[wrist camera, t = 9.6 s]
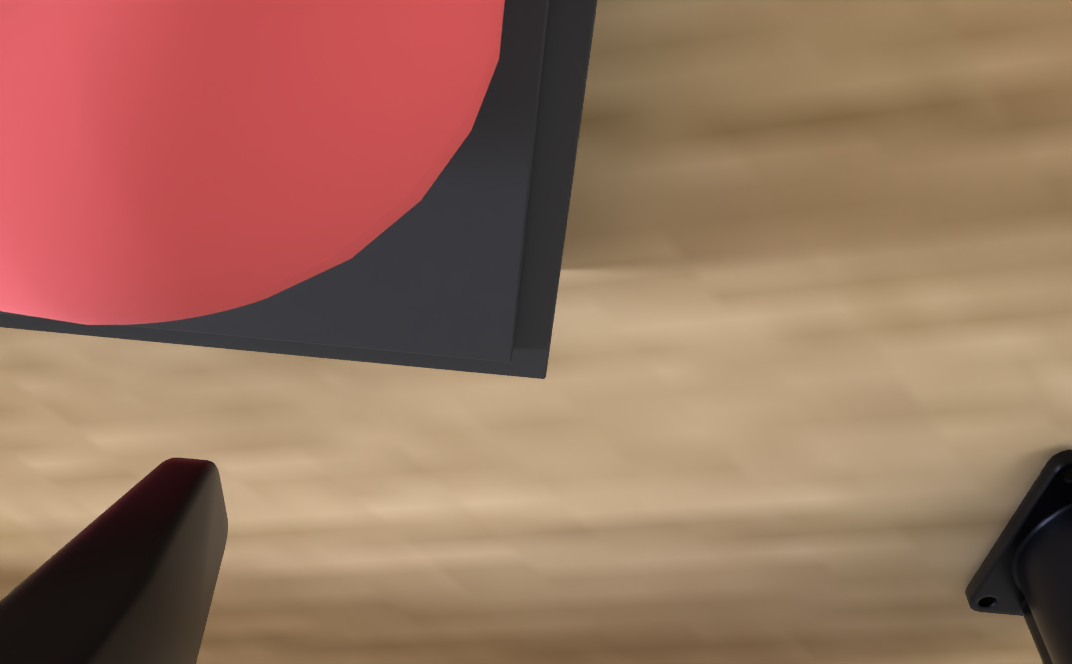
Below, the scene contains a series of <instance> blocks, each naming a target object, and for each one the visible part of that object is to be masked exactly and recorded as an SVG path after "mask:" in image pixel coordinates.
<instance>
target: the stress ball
mask: <svg viewBox="0 0 1072 664" xmlns="http://www.w3.org/2000/svg"><path fill="white" fill-rule="evenodd" d="M504 3H505V0H0V311H3V312H9V313H15V314H22V315H28V316H34V317H41V318H47V319H53V320H60V321H66V322H72V323H79V324H85V325H129V324H147V323H158V322H167V321H175V320H182V319H188V318H194V317H200V316H204V315H209V314H214V313H218V312H222V311H226V310H230V309H234V308H238V307H241V306H245V305H248V304H251V303H255V302H257V301H260V300H263V299H266V298H268V297H270V296H273V295H275V294H277V293H279V292H281V291H283V290H285V289H288V288H290V287H292V286H294V285H296V284H298V283H300V282H302V281H305V280H307V279H309V278H311V277H313V276H315V275H317V274H320V273H322V272H324V271H326V270H328V269H330V268H332V267H335V266H337V265H339V264H341V263H343V262H345V261H347V260H349V259H351V258H352V257H354V256H355V255H356V254H357V253H358V252H360V251H361V250H362V249H363V248H364V247H366V246H367V245H368V244H369V243H370V242H372V241H373V240H374V239H375V238H376V237H378V236H379V235H380V234H381V233H382V232H384V231H385V230H386V229H387V228H388V227H390V226H391V225H392V224H393V223H394V222H396V221H397V220H398V219H399V218H400V217H402V216H403V215H404V214H405V213H406V212H408V211H409V210H410V209H411V208H412V207H414V206H415V205H416V204H417V203H418V202H420V201H421V200H422V198H423V197H424V195H425V194H426V193H427V191H428V190H429V189H430V187H431V186H432V184H433V183H434V182H435V180H436V179H437V177H438V176H439V175H440V173H441V172H442V170H443V169H444V168H445V166H446V165H447V164H448V162H449V161H450V159H451V158H452V157H453V155H454V154H455V152H456V151H457V150H458V148H459V147H460V146H461V144H462V143H463V141H464V140H465V139H466V137H467V136H468V134H469V133H470V132H471V130H472V127H473V125H474V122H475V120H476V117H477V114H478V112H479V109H480V107H481V104H482V102H483V99H484V96H485V94H486V91H487V89H488V86H489V83H490V81H491V78H492V76H493V73H494V71H495V68H496V65H497V63H498V60H499V54H500V44H501V33H502V23H503V13H504Z"/></svg>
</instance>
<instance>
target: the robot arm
mask: <svg viewBox="0 0 1072 664" xmlns="http://www.w3.org/2000/svg"><path fill="white" fill-rule="evenodd" d="M227 533H228V519H227V513H226V508H225V502H224V497H223V492H222V486H221V481H220V476H219V471H218V469H217V467H216V465H215V464H214V463H213V462H211V461H208V460H198V459H187V458H171V459H168V460H166V461H164V462H162V463H161V464H160V465H159V466H157V467H156V468H155V469H154V470H153V471H152V472H150V473H149V474H148V475H147V476H146V477H145V478H143V479H142V480H141V481H140V482H139V483H138V484H136V485H135V486H134V487H133V488H132V489H131V490H129V491H128V492H127V493H126V494H125V495H124V496H122V497H121V498H120V499H119V500H118V501H117V502H115V503H114V504H113V505H112V506H111V507H110V508H108V509H107V510H106V511H105V512H104V513H103V514H101V515H100V516H99V517H98V518H97V519H95V520H94V521H93V522H92V523H91V524H90V525H88V526H87V527H86V528H85V529H84V530H83V531H81V532H80V533H79V534H78V535H77V536H76V537H74V538H73V539H72V540H71V541H70V542H69V543H67V544H66V545H65V546H64V547H63V548H62V549H60V550H59V551H58V552H57V553H56V554H55V555H53V556H52V557H51V558H50V559H49V560H48V561H46V562H45V563H44V564H43V565H42V566H41V567H39V568H38V569H37V570H36V571H35V572H34V573H32V574H31V575H30V576H29V577H28V578H26V579H25V580H24V581H23V582H22V583H21V584H19V585H18V586H17V587H16V588H15V589H14V590H12V591H11V592H10V593H9V594H8V595H7V596H5V597H4V598H3V599H2V600H1V601H0V664H196V662H197V658H198V654H199V650H200V646H201V642H202V638H203V634H204V630H205V626H206V622H207V618H208V614H209V610H210V606H211V602H212V598H213V594H214V590H215V586H216V582H217V578H218V574H219V570H220V566H221V562H222V558H223V554H224V550H225V545H226V540H227ZM965 594H966V597H967V600H968V602H969V605H970V607H971V608H972V609H973V610H975V611H979V612H987V613H998V614H1010V615H1021V616H1024V618H1025V620H1026V623H1027V625H1028V628H1029V630H1030V632H1031V635H1032V637H1033V640H1034V642H1035V645H1036V647H1037V649H1038V652H1039V654H1040V657H1041V659H1042V662H1043V664H1072V450H1066V451H1063V452H1060V453H1058V454H1056V455H1054V456H1053V457H1052V458H1051V459H1050V460H1049V461H1048V462H1047V464H1046V466H1045V467H1044V469H1043V470H1042V472H1041V473H1040V475H1039V476H1038V478H1037V480H1036V481H1035V483H1034V484H1033V486H1032V487H1031V489H1030V490H1029V492H1028V494H1027V495H1026V497H1025V498H1024V500H1023V501H1022V503H1021V504H1020V506H1019V507H1018V509H1017V511H1016V512H1015V514H1014V515H1013V517H1012V518H1011V520H1010V521H1009V523H1008V525H1007V526H1006V528H1005V529H1004V531H1003V532H1002V534H1001V535H1000V537H999V539H998V540H997V542H996V543H995V545H994V546H993V548H992V549H991V551H990V553H989V554H988V556H987V557H986V559H985V560H984V562H983V563H982V565H981V567H980V568H979V570H978V571H977V573H976V574H975V576H974V577H973V579H972V581H971V582H970V584H969V585H968V587H967V588H966V591H965Z"/></svg>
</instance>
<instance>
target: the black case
mask: <svg viewBox="0 0 1072 664" xmlns="http://www.w3.org/2000/svg"><path fill="white" fill-rule="evenodd" d="M596 6H597V0H505V3H504V13H503V23H502V33H501V44H500V54H499V60H498V63H497V65H496V68H495V71H494V73H493V76H492V78H491V81H490V83H489V86H488V89H487V91H486V94H485V96H484V99H483V102H482V104H481V107H480V109H479V112H478V114H477V117H476V120H475V122H474V125H473V127H472V130H471V132H470V133H469V134H468V136H467V137H466V139H465V140H464V141H463V143H462V144H461V146H460V147H459V148H458V150H457V151H456V152H455V154H454V155H453V157H452V158H451V159H450V161H449V162H448V164H447V165H446V166H445V168H444V169H443V170H442V172H441V173H440V175H439V176H438V177H437V179H436V180H435V182H434V183H433V184H432V186H431V187H430V189H429V190H428V191H427V193H426V194H425V195H424V197H423V198H422V200H421V201H420V202H418V203H417V204H416V205H415V206H414V207H412V208H411V209H410V210H409V211H408V212H406V213H405V214H404V215H403V216H402V217H400V218H399V219H398V220H397V221H396V222H394V223H393V224H392V225H391V226H390V227H388V228H387V229H386V230H385V231H384V232H382V233H381V234H380V235H379V236H378V237H376V238H375V239H374V240H373V241H372V242H370V243H369V244H368V245H367V246H366V247H364V248H363V249H362V250H361V251H360V252H358V253H357V254H356V255H355V256H354V257H352V258H351V259H349V260H347V261H345V262H343V263H341V264H339V265H337V266H335V267H332V268H330V269H328V270H326V271H324V272H322V273H320V274H317V275H315V276H313V277H311V278H309V279H307V280H305V281H302V282H300V283H298V284H296V285H294V286H292V287H290V288H288V289H285V290H283V291H281V292H279V293H277V294H275V295H273V296H270V297H268V298H266V299H263V300H260V301H257V302H255V303H251V304H248V305H245V306H241V307H238V308H234V309H230V310H226V311H222V312H218V313H214V314H209V315H204V316H200V317H194V318H188V319H182V320H175V321H167V322H158V323H147V324H129V325H85V324H79V323H72V322H66V321H60V320H53V319H47V318H41V317H34V316H28V315H22V314H15V313H9V312H3V311H0V327H5V328H15V329H26V330H36V331H47V332H57V333H68V334H78V335H89V336H99V337H110V338H120V339H131V340H141V341H152V342H162V343H173V344H183V345H194V346H204V347H215V348H225V349H236V350H246V351H257V352H267V353H278V354H288V355H299V356H309V357H319V358H330V359H340V360H351V361H361V362H372V363H382V364H393V365H403V366H414V367H424V368H435V369H445V370H456V371H466V372H477V373H487V374H498V375H508V376H519V377H529V378H540V379H545V377H546V372H547V365H548V357H549V350H550V343H551V335H552V328H553V321H554V313H555V306H556V299H557V291H558V284H559V277H560V270H561V262H562V255H563V248H564V240H565V233H566V226H567V218H568V211H569V204H570V196H571V189H572V182H573V175H574V167H575V160H576V153H577V145H578V138H579V131H580V123H581V116H582V109H583V101H584V94H585V87H586V79H587V72H588V65H589V58H590V50H591V43H592V36H593V28H594V21H595V14H596Z"/></svg>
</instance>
